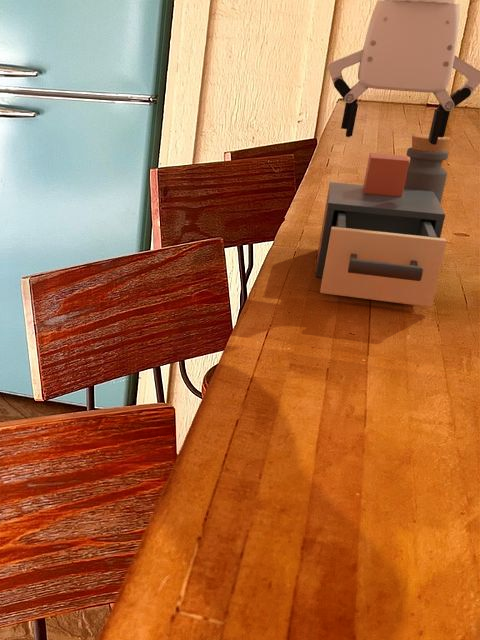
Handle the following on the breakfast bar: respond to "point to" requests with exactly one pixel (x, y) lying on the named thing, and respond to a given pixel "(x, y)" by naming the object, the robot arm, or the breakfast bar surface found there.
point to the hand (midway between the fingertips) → (389, 139)
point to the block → (386, 174)
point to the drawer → (383, 258)
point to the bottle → (427, 165)
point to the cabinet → (375, 210)
